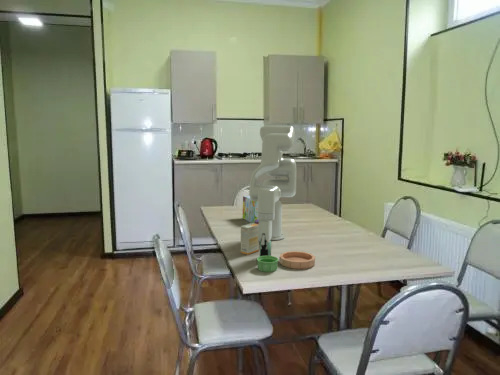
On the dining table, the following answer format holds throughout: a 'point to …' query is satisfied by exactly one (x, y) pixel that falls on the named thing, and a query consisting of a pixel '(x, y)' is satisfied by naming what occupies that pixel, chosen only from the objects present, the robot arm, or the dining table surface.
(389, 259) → the dining table surface
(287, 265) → the round dish
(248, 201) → the snack box
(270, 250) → the teal tapered rounded piece
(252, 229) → the supplement box
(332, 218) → the dining table surface
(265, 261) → the ramekin
